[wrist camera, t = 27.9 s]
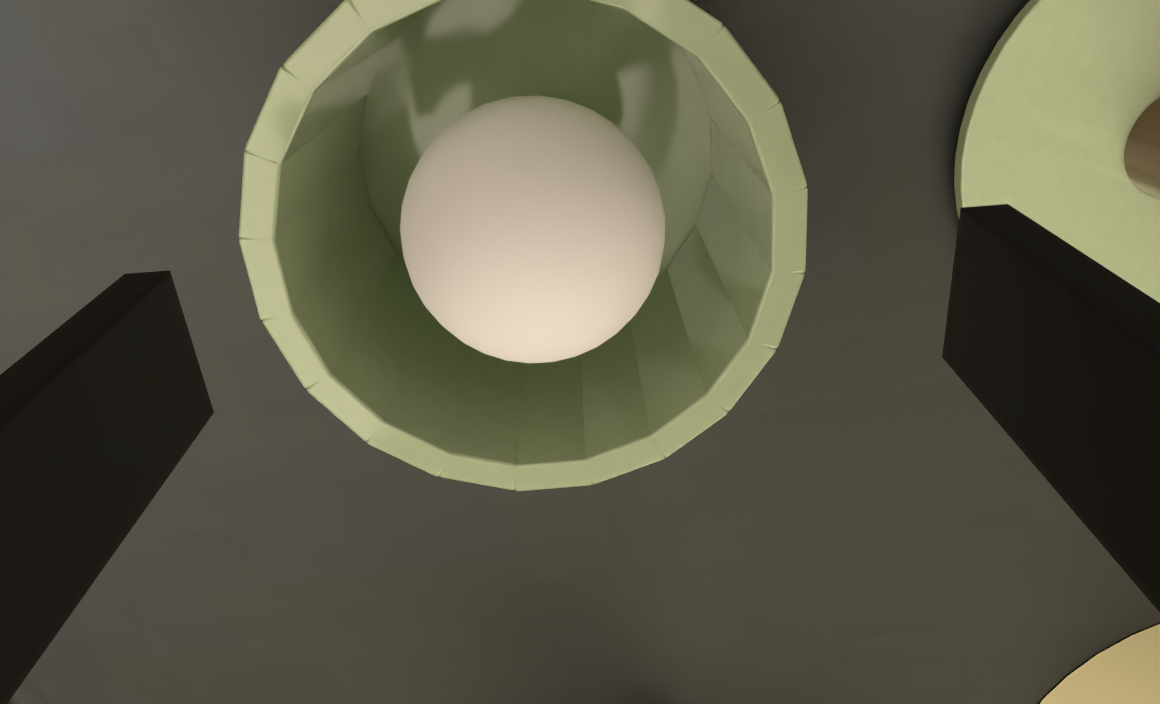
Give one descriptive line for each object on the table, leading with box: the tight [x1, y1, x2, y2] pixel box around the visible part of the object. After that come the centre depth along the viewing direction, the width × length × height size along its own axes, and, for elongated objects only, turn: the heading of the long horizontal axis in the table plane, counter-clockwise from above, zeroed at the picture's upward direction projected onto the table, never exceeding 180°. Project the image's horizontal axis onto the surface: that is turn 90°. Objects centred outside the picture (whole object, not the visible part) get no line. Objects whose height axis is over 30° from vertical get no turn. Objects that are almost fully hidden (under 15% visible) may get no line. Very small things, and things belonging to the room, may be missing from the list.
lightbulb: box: [400, 95, 665, 363], centre depth 23 cm, size 6×6×11 cm
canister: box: [239, 0, 808, 491], centre depth 24 cm, size 13×13×10 cm
